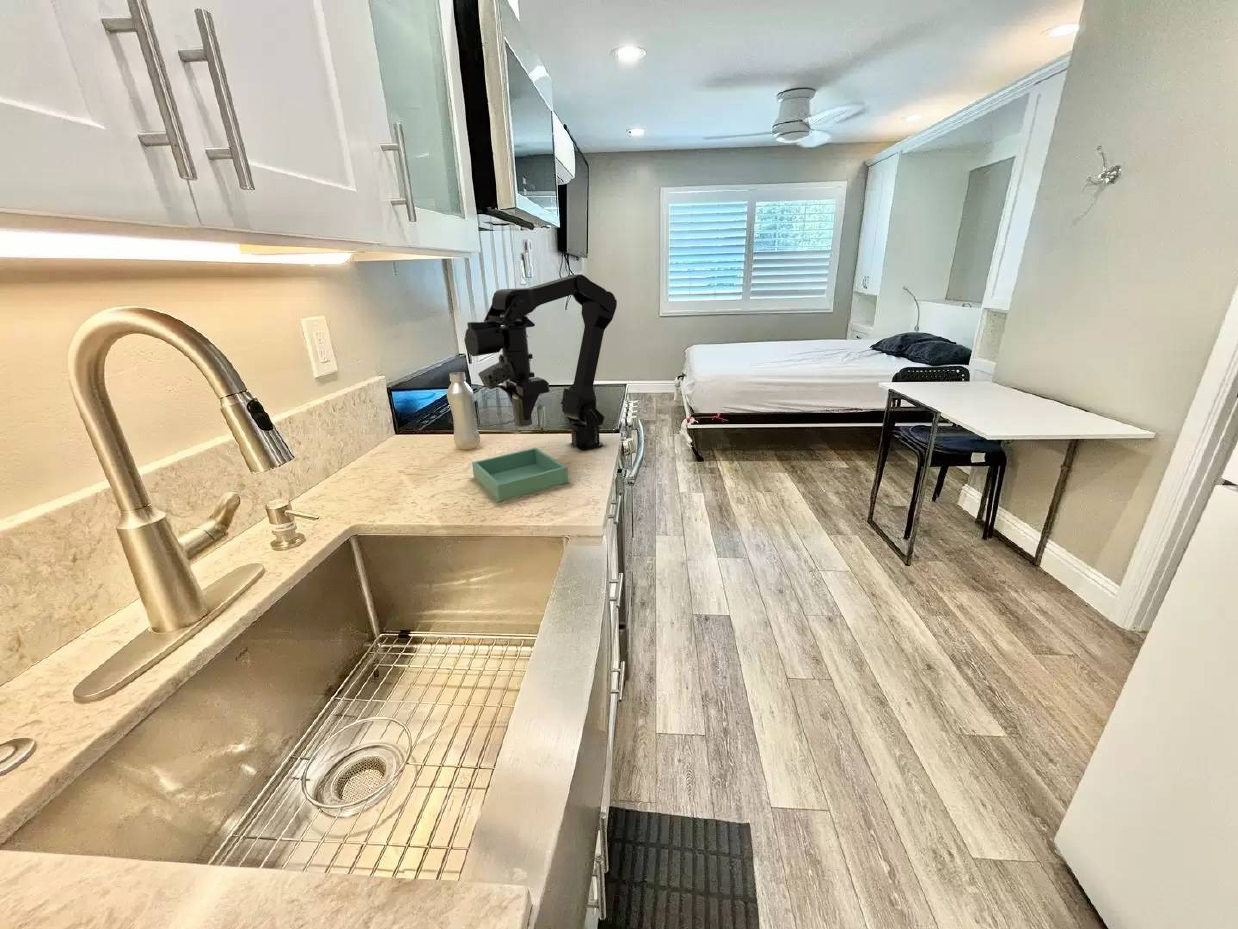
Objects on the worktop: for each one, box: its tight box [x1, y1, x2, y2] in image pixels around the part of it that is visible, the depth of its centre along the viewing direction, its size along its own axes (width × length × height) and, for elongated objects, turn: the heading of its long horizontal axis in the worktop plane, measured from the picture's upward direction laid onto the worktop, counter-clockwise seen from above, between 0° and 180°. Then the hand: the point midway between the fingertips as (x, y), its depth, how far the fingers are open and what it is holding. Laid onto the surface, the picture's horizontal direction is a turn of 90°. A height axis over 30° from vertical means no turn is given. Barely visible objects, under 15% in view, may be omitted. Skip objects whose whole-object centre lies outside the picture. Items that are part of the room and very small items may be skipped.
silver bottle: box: [446, 371, 481, 450], centre depth 127 cm, size 6×7×20 cm
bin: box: [471, 447, 569, 502], centre depth 107 cm, size 16×16×4 cm
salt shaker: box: [511, 394, 533, 428], centre depth 113 cm, size 4×4×7 cm
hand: (522, 417), depth 114 cm, fingers closed on salt shaker, 4 cm apart
